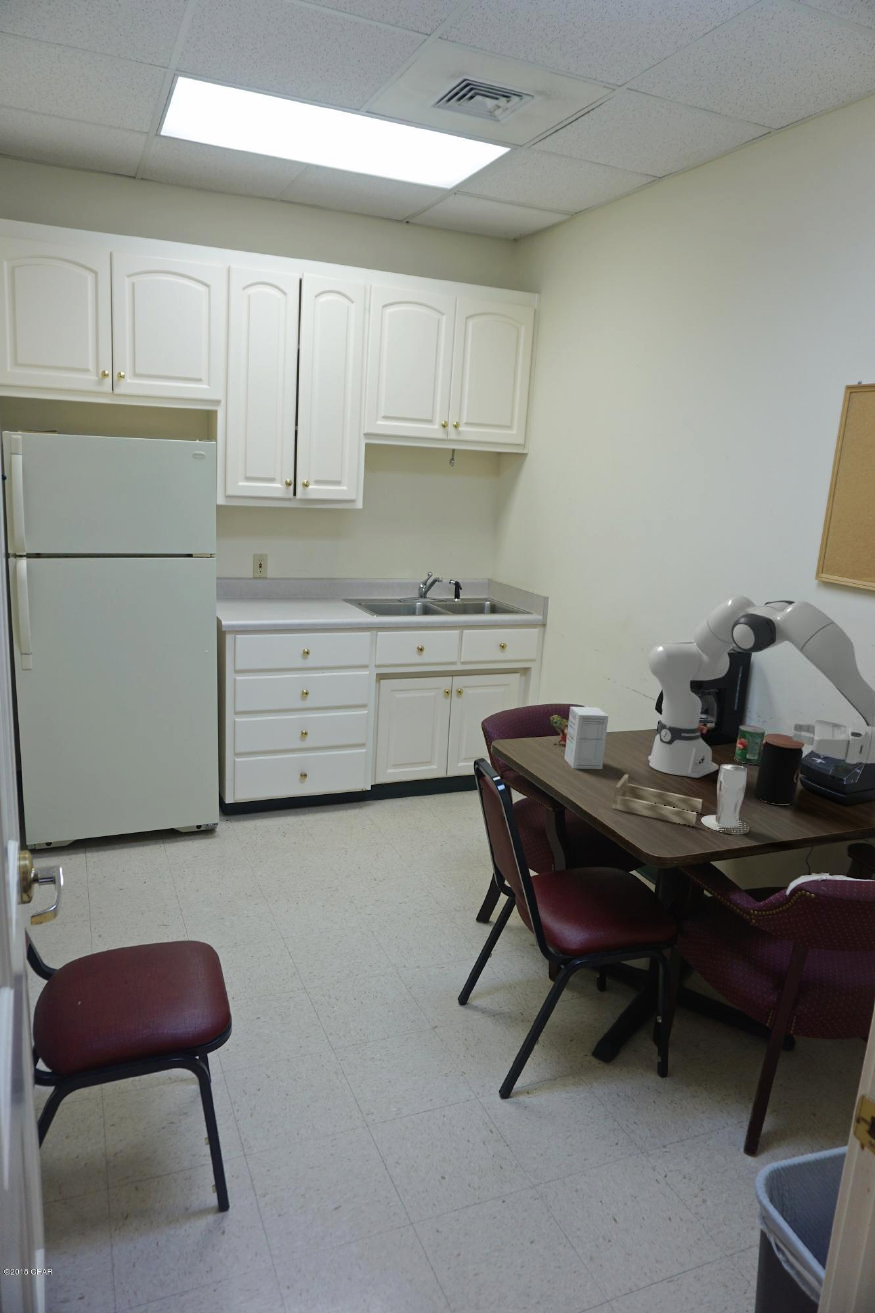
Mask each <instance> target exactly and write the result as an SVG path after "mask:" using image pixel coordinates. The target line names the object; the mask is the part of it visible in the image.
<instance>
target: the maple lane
mask: <svg viewBox="0 0 875 1313" xmlns="http://www.w3.org/2000/svg"><path fill="white" fill-rule="evenodd" d="M629 776H630V775H629V774H626V773H625V774H624V775H623V776H622V777H621V779H620V780H619V782H618V783H617V784H616V786H615V788H614V795H613V802H612V809H615V810H618V811H624V812H627V813H632V814H636V815H640V816H645V817H649V818H653V819H657V818H658V820H663V821H666V820H667V821H666V822H671V823H676V824H679V823H680V825H683V824H687V825H686V826H688V825H690V826H689V827H692V826H694V827H696V820H697V814H701V811H702V806H703V805H702V803H703V799H700V798H695V797H692V796H687V795H681V794H677V793H672V792H667V791H663V790H658V789H653V788H649V787H644V786H640V785H635V784H632V783H631V784H630V783H628V782H629ZM655 803H656V804H655ZM664 805H666V806H664ZM673 807H675V808H673ZM682 809H684V810H682ZM687 810H688V811H687ZM691 811H694V812H691ZM696 812H698V813H696Z"/></svg>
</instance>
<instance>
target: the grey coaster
mask: <svg viewBox="0 0 875 1313" xmlns="http://www.w3.org/2000/svg"><path fill="white" fill-rule="evenodd" d="M715 817H716V814H709V815H705V816H703V817H701V819H700V823H701V822H702V823H703V824H704V825H705V826H707V827H709V828H711V829H713V830H717V831H718V830H724V829H719V828H726V827H722V826H719V825H717V824H715V822H714V820H715ZM741 821H742V820H740V821H739V822H741ZM702 823H701V824H702ZM703 824H702V825H703ZM739 824H742V823H739ZM744 824H746V823H745V822H744ZM704 825H703V826H704ZM705 826H704V827H705ZM739 826H742V825H739ZM744 826H746V825H744ZM707 827H706V828H707ZM749 827H750V826H749ZM749 827H748V828H749ZM737 828H743V827H737ZM745 828H746V827H745ZM711 829H710V830H711ZM713 830H712V831H713ZM725 830H726V829H725ZM729 830H730V829H729ZM731 830H733V829H731ZM734 830H739V829H734ZM740 830H743V829H740ZM744 830H746V829H744ZM748 830H749V829H748ZM720 832H722V831H720ZM732 832H733V831H732ZM734 832H736V831H734ZM738 832H739V831H738ZM741 832H743V831H741ZM732 834H733V833H732ZM734 834H735V833H734ZM738 834H739V833H738ZM741 834H742V833H741Z"/></svg>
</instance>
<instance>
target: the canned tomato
mask: <svg viewBox="0 0 875 1313" xmlns="http://www.w3.org/2000/svg"><path fill="white" fill-rule="evenodd" d="M765 735H766V730H765V729H764V728H762V727H760V726H756V725H751V724H750V725H748V724H742V725H739V730H738V736H737V741H736V746H735V747H736V748H735V754H734V758H733V759H734V760H735V759H736V760H737V761H736V760H735V761H736V762H738V761H740V762H742V763H741V764H743V763H748V764H747V765H749V764H756V763H759V762H760V759H761V753H762V747H763V743H764V742H765V740H764V736H765ZM740 762H739V763H740Z"/></svg>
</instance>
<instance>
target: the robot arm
mask: <svg viewBox="0 0 875 1313" xmlns="http://www.w3.org/2000/svg"><path fill="white" fill-rule="evenodd" d="M693 635H694V636H693V639H694V642H691V643H689V642H688V643H681V642H680V643H679V642H676V643H674V642H669V643H665V644H659V645H655V646H654V647H653V649H652V650H651V651H650V653H649V655H648V661H647V663H648V669H649V670H650V672H651V674H652V675H653V676H654V677H655V678H656V679H657V680H658V682H659V683H660V686H661V689H662V694H663V695H662V696H663V697H662V698H663V701H662V712H661V717H660V718H661V719H660V720H659V722H658V729H657V732H658V734H657V735H655V739H654V743H653V746H652V749H651V754H650V755H648V758H647V760H648V761H649V766H650V767H651V768H653V769H654V770H656V771H659V772H662V773H666V774H670V775H677V776H684V777H691V778H696V779H697V778H701V777H703V776H705V775H707V774H711V773H713V772H715V771H717V770H719V765H718V764H717V763H714V762H713V761H712V760H713V759H712V758H713V756H712V755H713V751H712V748H711V747H710V746H709V745H708V744H707V743H706V742H705V741H704V740H703V739H702V737H701V736H702V735H701V733H702V734H706V733H707V729H708V728H707V727H706V726H703V725H699V723H700V717H701V711H702V706H703V705H702V701H701V699H700V698H699V696H698V695H696V693H694V692H692V691H691V681H711V680H715V679H716V680H717V679H720V678H722V677H724V676H725V675H726V674H727V672H728V670H729V667H730V657H729V655H728V652H729V651H730V650H731V649H732V648H733V647H734V646H736V647H737V649H738V650H740V651H742V652H743V653H748V654H749V653H759V652H763V651H765V650H766V649H767V650H768V649H770V648H774V647H776V646H779V645H780V644H783V643H785V642H789V643H791V644H792V645H793V646H794V647H795V648H796V650H798V652H800V653H801V655H802V656H803V657H805V659H806V660H807V661H808V662H809V663H811V664H812V665H813V666H814V667H815V668H816V669H817V670H818V671H819V672H820V673H822V675H824V677H826V678H827V680H828V681H830V683H831V684H833V686H834V687H835V689H836V690H838V692H839V693H840V694H841V695H842V696H843V697H844V698H845V699H846V701H847V702H848V703H849V704H850V705H851V707H852V708H854V709H855V710H856V712H857V713H858V714H859V715H860V716H861V718H862V719H863V720H864V722H865V725H864V724H858V723H853V722H850V724H849V726H846V725H844V724H840V723H837V722H832V721H826V720H822V719H818V720H815V722H814V724H813V723H797V722H796V723H795V724H794V726H793V731H794V732H793V733H792V737H793V738H792V739H793V740H794V741H799V742H802V743H804V744H805V745H807V746H811V747H812V750H811V751H812V752H813V753H816V754H818V755H822V756H825V757H830V758H833V759H837V760H844V761H845V763H848V764H852V765H856V764H857V763H863V764H875V690H874V689H873V688H872V687H871V686H870V685H869V684H868V682H867V681H866V680H865V679H864V678H863V676H862V675H861V672H860V671H859V669H858V664H857V661H856V654H855V653H856V652H855V645H854V644H853V641H852V640H851V638H850V637H849V636H848V634H847V633H846V632H845V631H844V630H843V628H842V627H840V625H838V624H837V623H836V621H834V620H833V619H832V618H831V617H829V616H828V615H827V614H826V613H825V612H824V611H822V610H820V609H819V608H817V607H816V606H814V605H812V604H811V603H809V602H808V601H804V600H803V601H802V600H801V601H794V600H788V599H787V600H785V599H784V600H783V599H782V600H776V601H775V600H774V601H768V602H765V603H764V605H761V606H760V605H756V604H755V603H754V602H753V601H752V600H751V599H750V598H748V597H746V596H744V595H734V596H731V597H729V598H728V599H726V600H725V601H723V602H721V603H720V604H719V605H717V606H716V607H715V609H713V610H712V611H711V612H710V613H709V614H708V615H707V616H706V617H705V618H703V620H702V621H701V622H700V623H699V624H698V625H697V626H696V628H695V629H694V634H693ZM803 733H807V734H803ZM808 734H809V735H808Z"/></svg>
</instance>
